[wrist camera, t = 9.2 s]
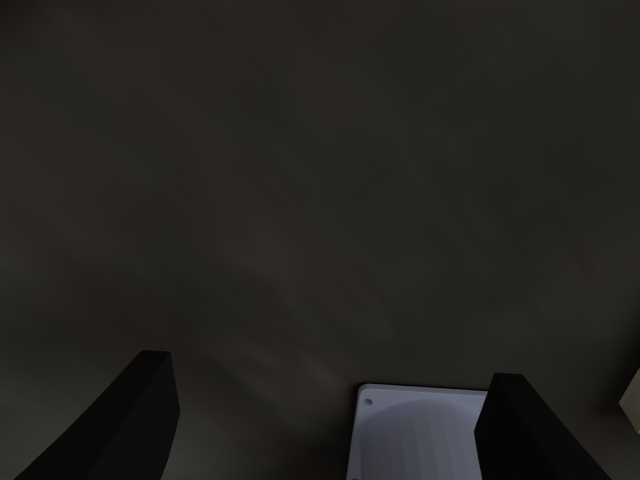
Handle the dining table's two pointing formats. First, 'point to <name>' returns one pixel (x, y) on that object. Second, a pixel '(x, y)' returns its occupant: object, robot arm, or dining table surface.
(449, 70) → the dining table surface
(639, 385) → the cream flat block
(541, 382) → the dining table surface
